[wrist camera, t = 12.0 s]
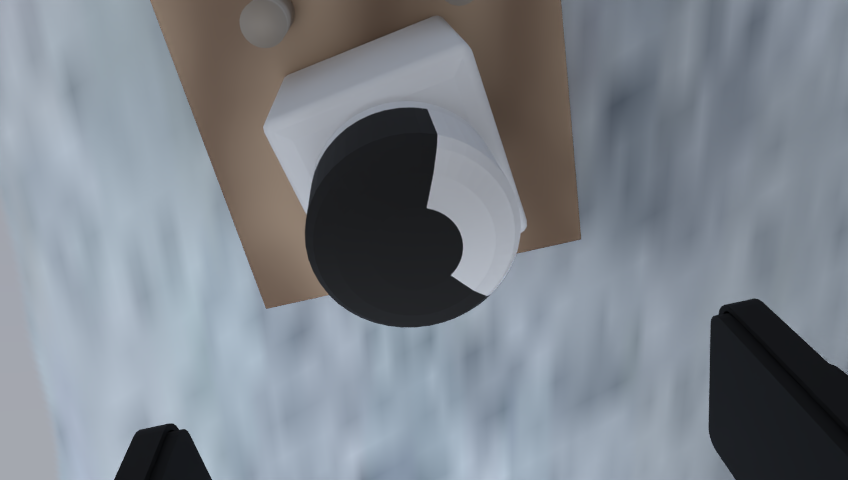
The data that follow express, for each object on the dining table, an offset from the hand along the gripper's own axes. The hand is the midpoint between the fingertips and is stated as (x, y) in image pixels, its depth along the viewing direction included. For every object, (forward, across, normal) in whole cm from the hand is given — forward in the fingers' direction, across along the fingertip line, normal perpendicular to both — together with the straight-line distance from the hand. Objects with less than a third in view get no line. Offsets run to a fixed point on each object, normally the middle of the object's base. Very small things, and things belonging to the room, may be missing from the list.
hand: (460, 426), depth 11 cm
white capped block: (+19, 0, 0) cm, 19 cm away
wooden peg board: (+20, 0, -1) cm, 20 cm away
